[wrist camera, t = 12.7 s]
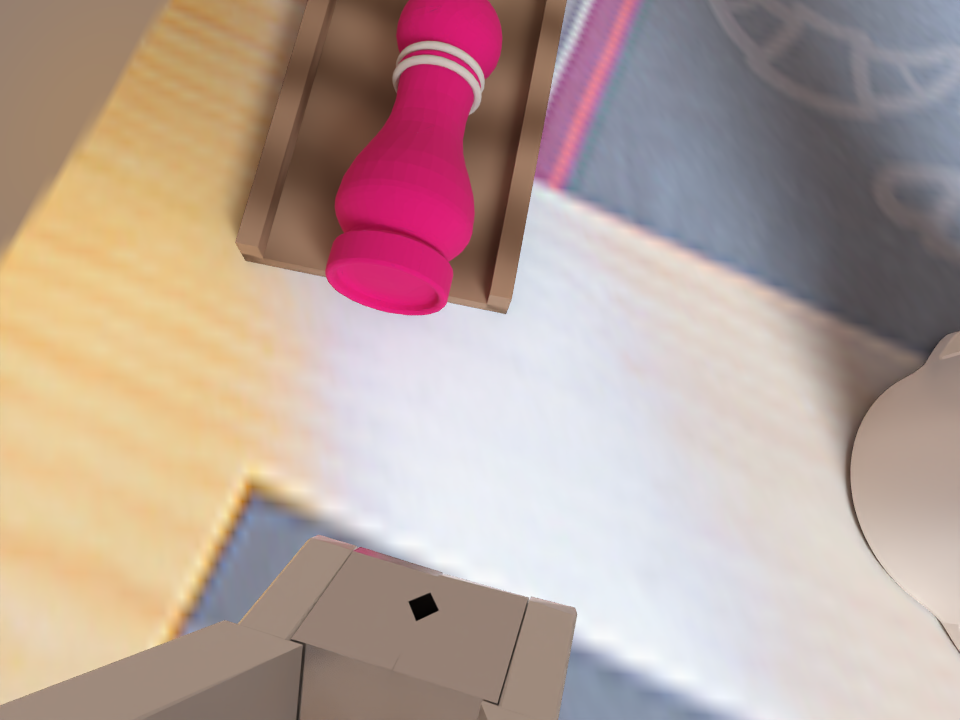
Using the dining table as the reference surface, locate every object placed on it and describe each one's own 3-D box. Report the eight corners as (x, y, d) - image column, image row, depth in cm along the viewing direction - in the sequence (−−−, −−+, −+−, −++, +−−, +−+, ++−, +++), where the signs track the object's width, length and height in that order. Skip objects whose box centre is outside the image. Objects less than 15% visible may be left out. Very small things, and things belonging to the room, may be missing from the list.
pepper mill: (293, 248, 34) (391, -76, 41) (338, 310, 41) (416, 24, 47) (444, 267, 33) (521, -69, 39) (464, 328, 40) (527, 32, 46)
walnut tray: (340, -63, 48) (336, -96, 46) (566, -13, 49) (574, -43, 46) (245, 260, 42) (235, 242, 39) (505, 314, 42) (511, 299, 40)
